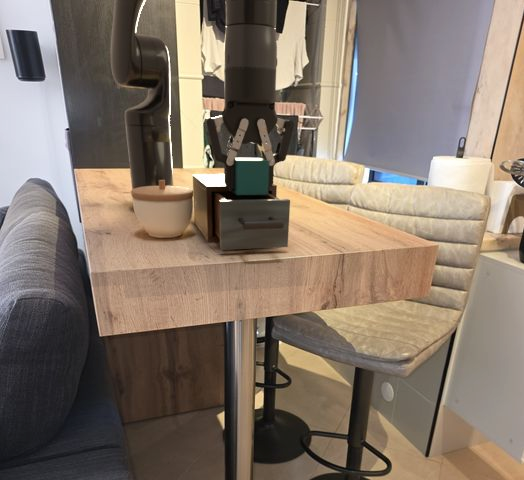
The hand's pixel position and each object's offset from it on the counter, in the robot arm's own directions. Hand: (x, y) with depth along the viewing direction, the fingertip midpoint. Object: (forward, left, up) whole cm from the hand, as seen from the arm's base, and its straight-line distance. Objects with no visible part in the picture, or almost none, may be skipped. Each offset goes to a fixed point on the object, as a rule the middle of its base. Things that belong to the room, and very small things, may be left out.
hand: (248, 189), depth 73 cm
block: (0, 0, 0) cm, 0 cm away
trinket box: (-11, -13, -9) cm, 19 cm away
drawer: (0, 0, -8) cm, 8 cm away
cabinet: (-12, 0, -9) cm, 15 cm away
